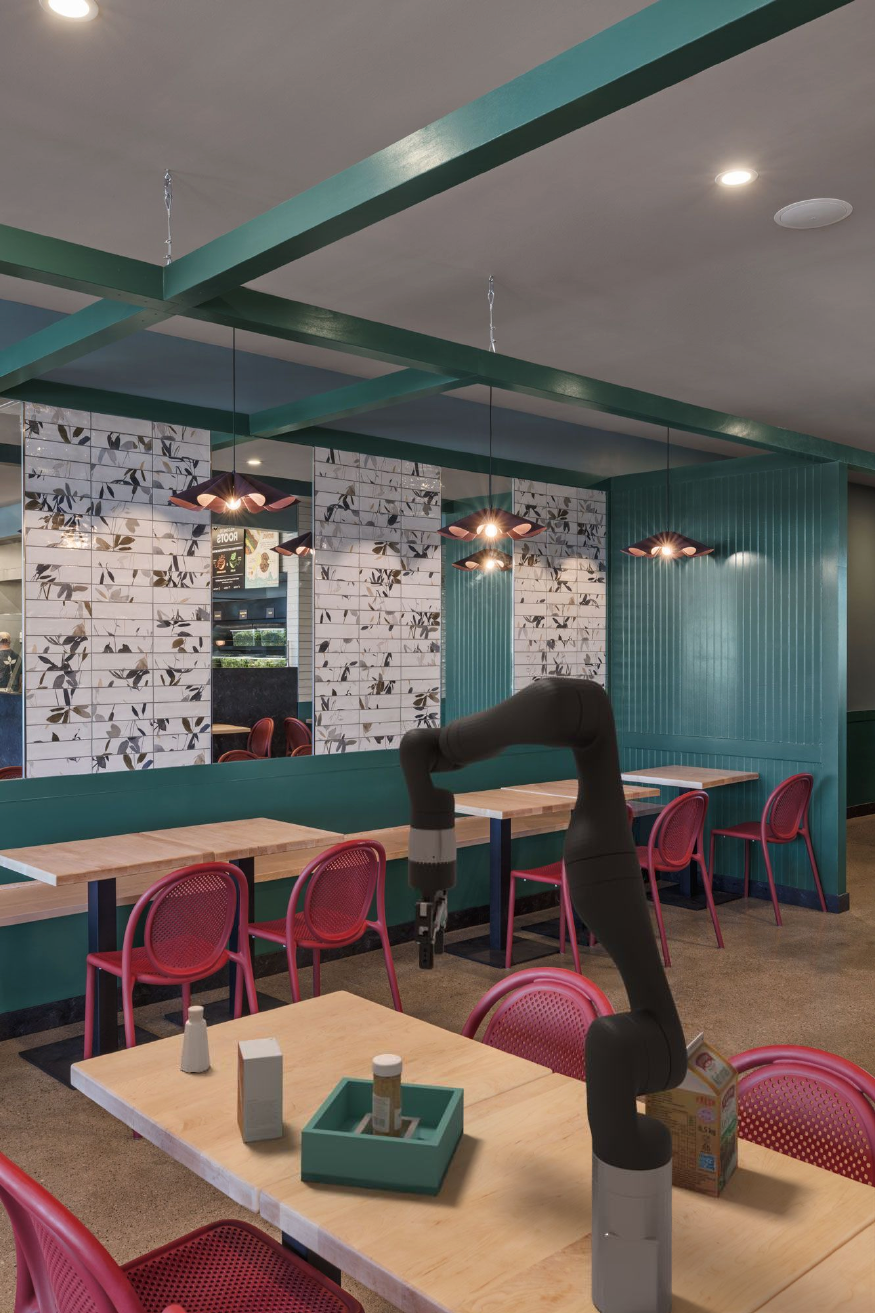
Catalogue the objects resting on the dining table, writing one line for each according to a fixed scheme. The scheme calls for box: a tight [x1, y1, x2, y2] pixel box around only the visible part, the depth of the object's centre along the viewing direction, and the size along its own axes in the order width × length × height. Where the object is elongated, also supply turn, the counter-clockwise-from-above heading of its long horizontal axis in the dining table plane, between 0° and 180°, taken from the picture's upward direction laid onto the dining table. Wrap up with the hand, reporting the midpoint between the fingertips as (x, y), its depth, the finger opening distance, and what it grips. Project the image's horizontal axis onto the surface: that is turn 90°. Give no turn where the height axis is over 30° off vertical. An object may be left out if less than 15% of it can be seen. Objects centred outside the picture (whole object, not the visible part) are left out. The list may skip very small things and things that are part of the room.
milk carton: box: [644, 1031, 739, 1199], centre depth 149 cm, size 11×11×19 cm
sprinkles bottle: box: [371, 1053, 403, 1138], centre depth 154 cm, size 5×5×14 cm
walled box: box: [300, 1076, 465, 1197], centre depth 154 cm, size 20×20×7 cm
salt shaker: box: [179, 1005, 211, 1074], centre depth 187 cm, size 5×5×11 cm
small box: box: [236, 1037, 284, 1143], centre depth 162 cm, size 8×6×13 cm
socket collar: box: [354, 1113, 421, 1140], centre depth 154 cm, size 9×9×3 cm
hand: (431, 960), depth 158 cm, fingers open, 8 cm apart
